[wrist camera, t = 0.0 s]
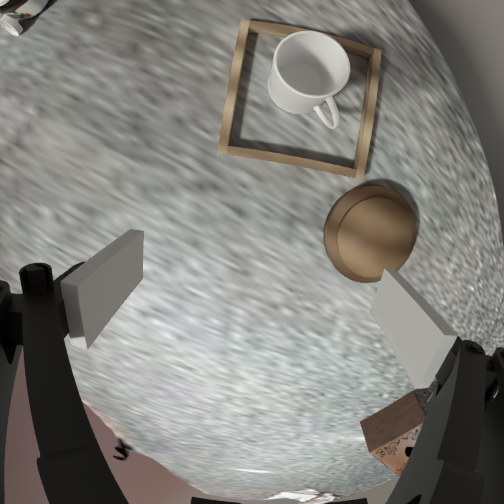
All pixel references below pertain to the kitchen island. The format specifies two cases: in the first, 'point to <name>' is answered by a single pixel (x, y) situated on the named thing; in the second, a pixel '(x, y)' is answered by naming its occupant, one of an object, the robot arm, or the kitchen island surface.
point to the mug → (308, 74)
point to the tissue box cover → (394, 432)
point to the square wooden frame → (224, 148)
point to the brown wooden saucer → (369, 233)
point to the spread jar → (19, 13)
